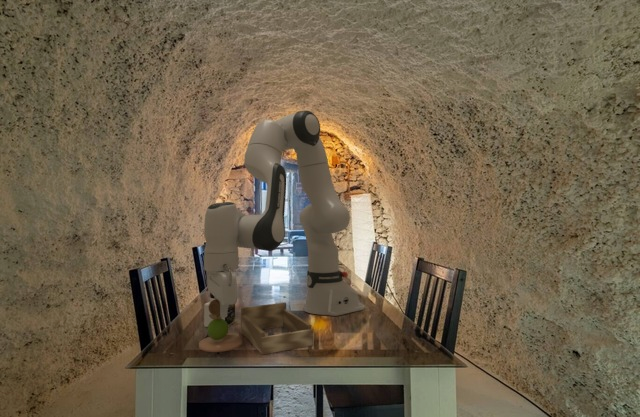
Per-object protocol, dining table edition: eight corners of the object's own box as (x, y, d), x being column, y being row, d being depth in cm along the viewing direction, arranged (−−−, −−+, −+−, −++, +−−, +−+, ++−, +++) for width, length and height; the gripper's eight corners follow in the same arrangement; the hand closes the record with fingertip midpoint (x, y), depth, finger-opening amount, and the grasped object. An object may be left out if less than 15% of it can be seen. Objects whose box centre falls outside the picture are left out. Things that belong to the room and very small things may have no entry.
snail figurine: (225, 342, 90) (223, 295, 91) (203, 342, 92) (201, 295, 93) (235, 336, 96) (233, 291, 97) (214, 336, 97) (213, 292, 98)
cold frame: (285, 324, 111) (285, 302, 111) (313, 345, 93) (313, 318, 94) (240, 331, 105) (240, 307, 105) (262, 354, 87) (262, 326, 87)
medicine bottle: (225, 328, 108) (225, 288, 108) (203, 327, 109) (204, 288, 109) (235, 321, 115) (235, 284, 115) (215, 320, 116) (215, 283, 116)
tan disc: (236, 335, 102) (236, 332, 102) (246, 347, 92) (246, 344, 92) (196, 341, 97) (196, 338, 97) (202, 355, 87) (202, 351, 87)
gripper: (243, 266, 87) (243, 323, 87) (225, 258, 105) (224, 304, 105) (217, 268, 84) (217, 327, 84) (202, 259, 102) (202, 307, 102)
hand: (221, 314), depth 95 cm, fingers closed on snail figurine, 3 cm apart
